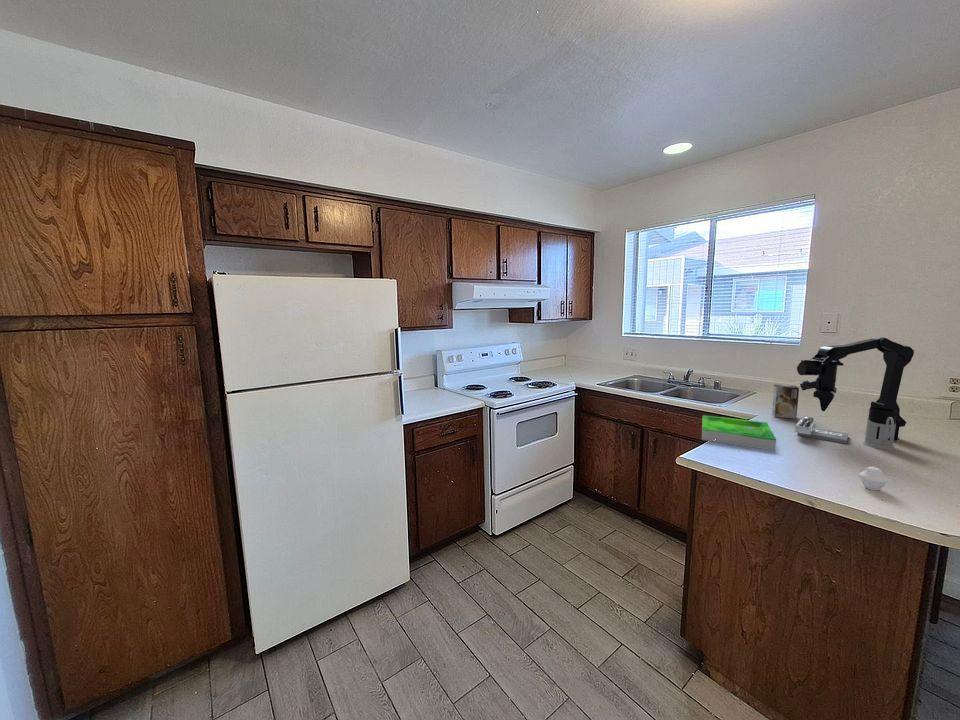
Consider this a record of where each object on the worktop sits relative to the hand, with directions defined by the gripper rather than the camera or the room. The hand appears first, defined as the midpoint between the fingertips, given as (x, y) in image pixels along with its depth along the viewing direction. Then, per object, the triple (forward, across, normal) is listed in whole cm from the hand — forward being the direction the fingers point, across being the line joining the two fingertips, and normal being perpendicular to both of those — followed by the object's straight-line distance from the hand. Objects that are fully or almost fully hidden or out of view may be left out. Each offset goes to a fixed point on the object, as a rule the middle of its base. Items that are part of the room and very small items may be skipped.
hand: (823, 410), depth 162 cm
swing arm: (+9, +6, -5) cm, 12 cm away
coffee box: (+11, -26, -16) cm, 32 cm away
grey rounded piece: (+11, +3, +18) cm, 22 cm away
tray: (+12, +26, -26) cm, 39 cm away
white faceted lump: (+11, +54, +16) cm, 57 cm away
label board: (+11, 0, +1) cm, 11 cm away
